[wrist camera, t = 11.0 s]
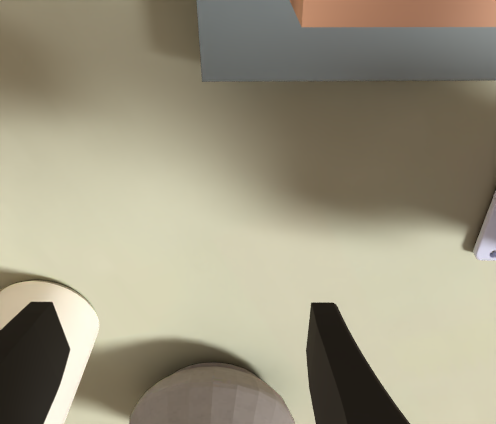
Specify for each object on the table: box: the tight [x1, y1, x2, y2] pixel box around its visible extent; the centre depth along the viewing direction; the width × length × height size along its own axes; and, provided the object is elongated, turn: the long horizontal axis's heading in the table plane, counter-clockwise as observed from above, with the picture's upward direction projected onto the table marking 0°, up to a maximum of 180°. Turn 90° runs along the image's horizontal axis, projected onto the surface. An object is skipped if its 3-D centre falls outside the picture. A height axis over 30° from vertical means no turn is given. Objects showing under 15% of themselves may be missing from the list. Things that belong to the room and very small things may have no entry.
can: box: [0, 280, 99, 424], centre depth 22 cm, size 6×6×12 cm
